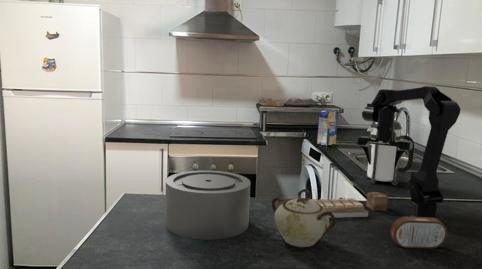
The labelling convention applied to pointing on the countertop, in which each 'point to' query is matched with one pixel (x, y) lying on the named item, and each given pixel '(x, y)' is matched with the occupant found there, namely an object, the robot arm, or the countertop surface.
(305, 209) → the sugar bowl
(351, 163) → the countertop surface
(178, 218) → the container
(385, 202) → the brown wooden cube
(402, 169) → the coffee press
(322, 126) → the beverage box
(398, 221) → the tin
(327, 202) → the pallet
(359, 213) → the dock
